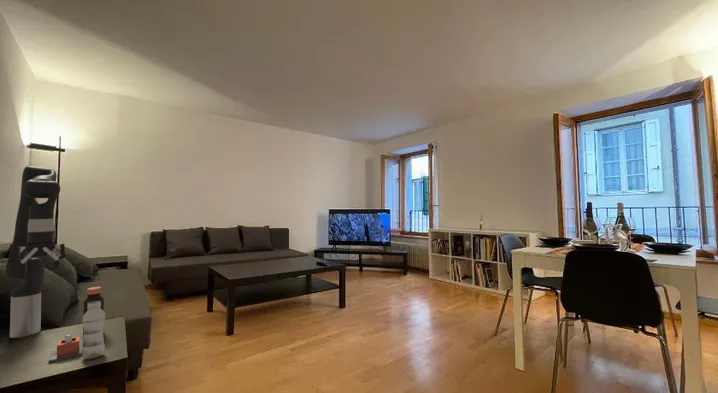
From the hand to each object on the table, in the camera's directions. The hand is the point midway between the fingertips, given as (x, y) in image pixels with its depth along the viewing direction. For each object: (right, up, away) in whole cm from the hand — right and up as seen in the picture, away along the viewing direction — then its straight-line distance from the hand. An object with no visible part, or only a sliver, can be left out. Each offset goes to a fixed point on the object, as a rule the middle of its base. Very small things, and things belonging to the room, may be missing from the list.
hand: (40, 271), depth 124 cm
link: (+18, -29, -7) cm, 34 cm away
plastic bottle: (+30, -30, -10) cm, 43 cm away
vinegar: (+11, -31, +11) cm, 35 cm away
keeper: (+18, -30, -7) cm, 35 cm away
